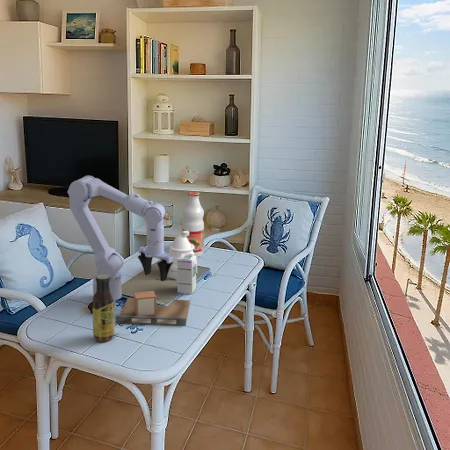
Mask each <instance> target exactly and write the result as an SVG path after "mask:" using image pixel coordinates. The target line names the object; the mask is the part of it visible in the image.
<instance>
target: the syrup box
mask: <svg viewBox="0 0 450 450" xmlns="http://www.w3.org/2000/svg"><path fill="white" fill-rule="evenodd" d="M196 260H197V257H196V255H193V254H181V256H180V257H179V258H178V259H177V280H176V281H177V284H176V285H177V293H178V292H181V293H180V294H182V295H183V294H185V295H190V296H191V295H194V293H195V292H196V290H197V276H196Z"/></svg>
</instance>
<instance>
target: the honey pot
mask: <svg viewBox="0 0 450 450" xmlns="http://www.w3.org/2000/svg"><path fill="white" fill-rule="evenodd" d="M188 235H189V231H183V230H182V234H181V233H180V234H178V235H177V236H176V237H175V238H174V240H173V241H172V243H171V244H169V246H168V249H169V250H168V252H167V254H169V255H170V256H173V264H172V265H171V267H170V269H169V272H168V275H169V276H172V277H177V259H178V258H179V257H180V256H181V254H193V255H195V254H194V252H193V249H194V245H193V244H191V243H190V242H189V241H188V239H187V238H186V237H187V236H188ZM196 273H197V274H198V259H196Z"/></svg>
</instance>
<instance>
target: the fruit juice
mask: <svg viewBox="0 0 450 450" xmlns="http://www.w3.org/2000/svg"><path fill="white" fill-rule="evenodd" d="M187 196H188V200H187V202H186V205H185V206H184V208H183V211H182V216H183V221H182V232H183V231H189V235H188V236H187V237H186V238H187V239H188V241H189V242H190V243H191V244H193V245H194V249H193V252H194V254H195V255H196V258H198V257H202V256H203V255H204V247H205V244H204V243H205V241H204V239H205V222H204V215H205V211H204V208H203V207H202V205H201V202H200V199H199V198H200V192H198V191H189V192H188V193H187Z"/></svg>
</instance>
